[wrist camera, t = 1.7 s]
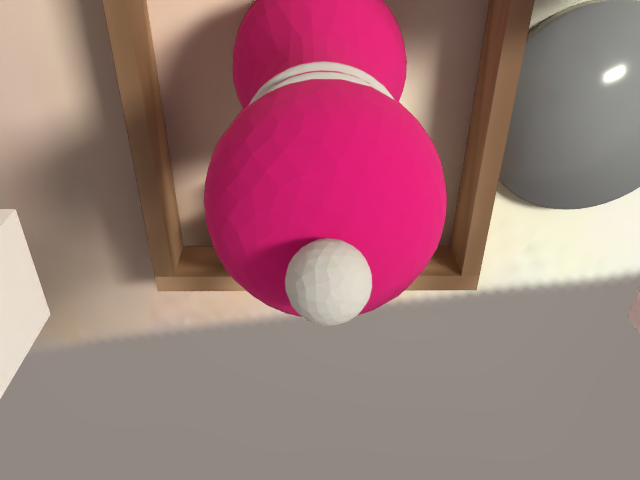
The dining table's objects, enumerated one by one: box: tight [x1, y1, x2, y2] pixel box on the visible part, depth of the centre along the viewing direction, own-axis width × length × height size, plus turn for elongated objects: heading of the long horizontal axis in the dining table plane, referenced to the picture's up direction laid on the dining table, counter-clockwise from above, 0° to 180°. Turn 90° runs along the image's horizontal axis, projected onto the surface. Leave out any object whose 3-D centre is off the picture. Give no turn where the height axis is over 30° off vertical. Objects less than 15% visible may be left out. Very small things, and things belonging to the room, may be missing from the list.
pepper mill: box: [204, 0, 447, 326], centre depth 19 cm, size 7×7×20 cm
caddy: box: [102, 0, 534, 291], centre depth 28 cm, size 18×19×3 cm
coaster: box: [499, 0, 640, 209], centre depth 29 cm, size 11×11×1 cm
